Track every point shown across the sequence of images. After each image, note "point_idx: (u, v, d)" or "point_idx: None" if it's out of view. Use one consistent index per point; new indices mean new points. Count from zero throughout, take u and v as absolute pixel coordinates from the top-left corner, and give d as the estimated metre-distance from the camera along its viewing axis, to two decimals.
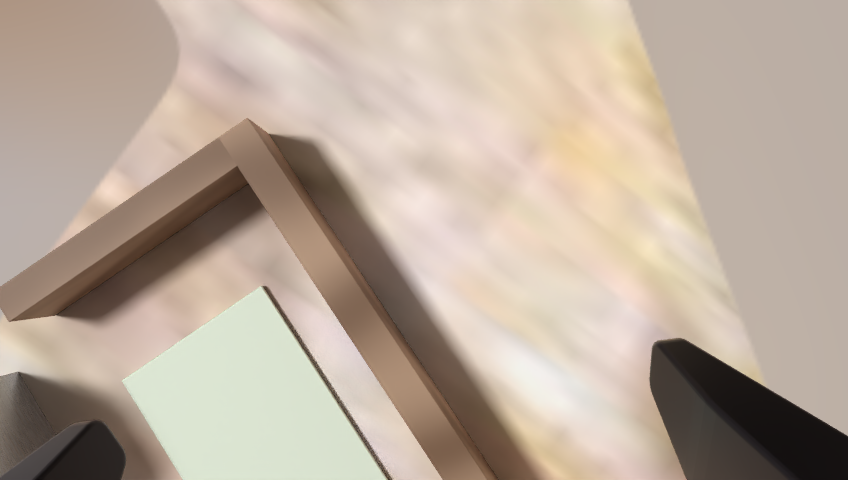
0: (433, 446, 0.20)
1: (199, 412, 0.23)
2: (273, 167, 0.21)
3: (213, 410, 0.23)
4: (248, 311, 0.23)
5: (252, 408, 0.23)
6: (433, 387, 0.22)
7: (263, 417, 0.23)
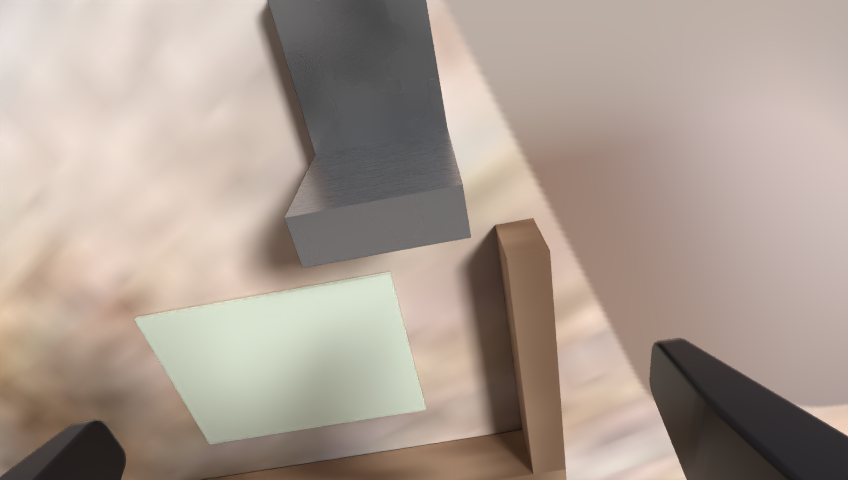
0: None
1: (327, 331, 0.21)
2: None
3: (324, 343, 0.21)
4: (407, 395, 0.23)
5: (314, 373, 0.22)
6: None
7: (302, 379, 0.22)
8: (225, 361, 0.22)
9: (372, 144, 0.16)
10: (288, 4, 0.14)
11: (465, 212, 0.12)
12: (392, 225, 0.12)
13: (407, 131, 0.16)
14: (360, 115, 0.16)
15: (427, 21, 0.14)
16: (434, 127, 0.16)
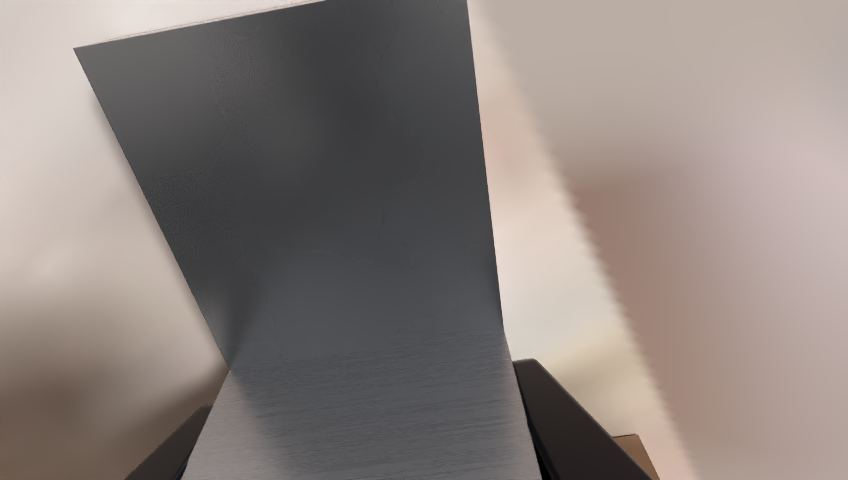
0: None
1: None
2: None
3: None
4: None
5: None
6: None
7: None
8: None
9: (345, 357, 0.08)
10: (138, 83, 0.06)
11: None
12: None
13: (419, 333, 0.08)
14: (320, 305, 0.07)
15: (476, 126, 0.06)
16: (476, 327, 0.08)
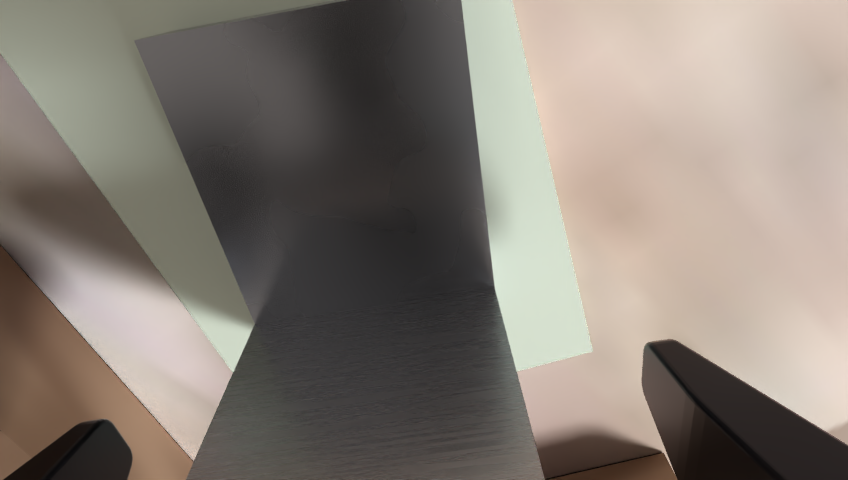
0: None
1: None
2: None
3: None
4: None
5: None
6: None
7: None
8: None
9: (356, 312, 0.09)
10: (186, 70, 0.07)
11: None
12: None
13: (421, 291, 0.09)
14: (335, 265, 0.09)
15: (469, 107, 0.07)
16: (471, 286, 0.09)
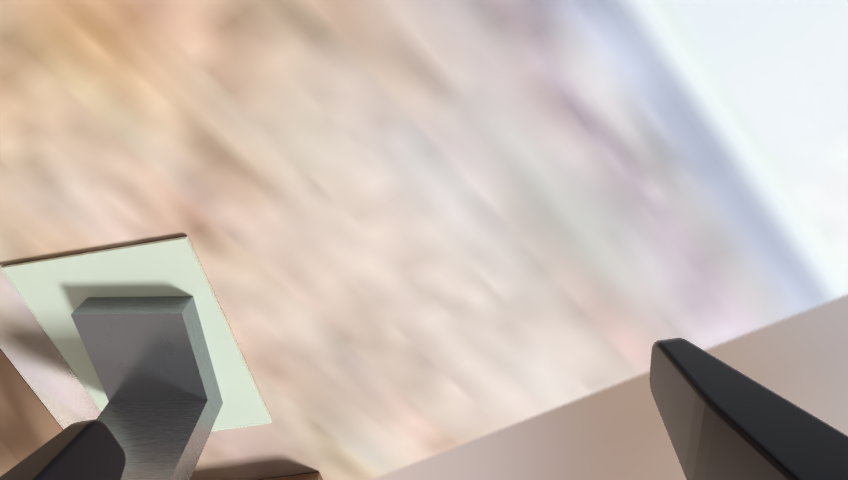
0: None
1: None
2: None
3: None
4: None
5: None
6: None
7: None
8: None
9: (150, 402, 0.22)
10: (88, 323, 0.20)
11: None
12: None
13: (178, 397, 0.22)
14: (142, 385, 0.22)
15: (189, 344, 0.21)
16: (197, 398, 0.22)
